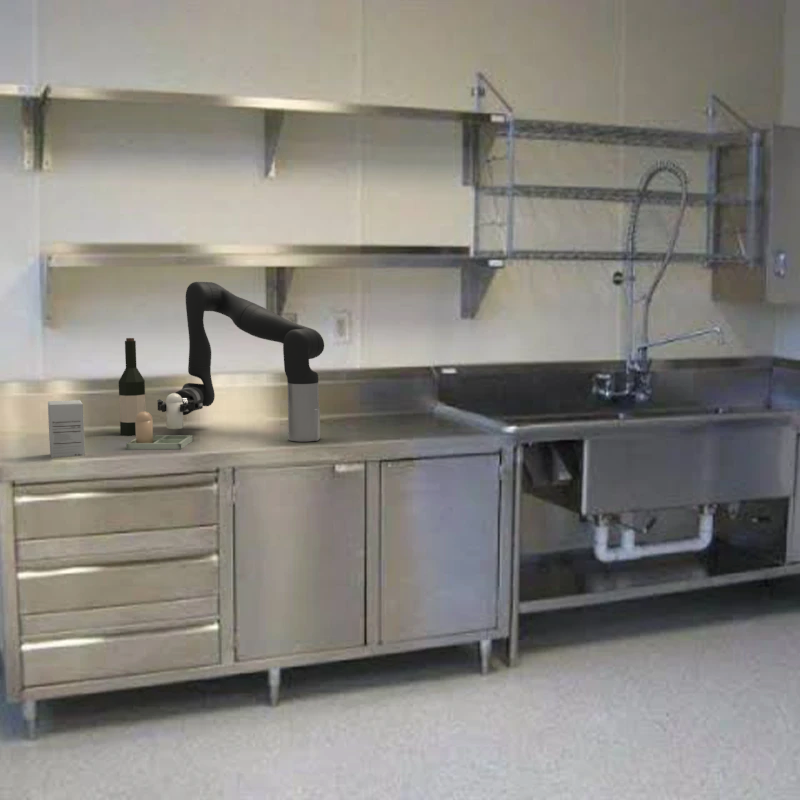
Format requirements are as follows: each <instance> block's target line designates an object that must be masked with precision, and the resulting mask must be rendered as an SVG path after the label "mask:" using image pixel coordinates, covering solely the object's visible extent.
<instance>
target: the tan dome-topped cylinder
mask: <svg viewBox="0 0 800 800" xmlns="http://www.w3.org/2000/svg"><path fill="white" fill-rule="evenodd" d="M135 428H136V436H135V438H136V443H153V435H154V422H153V416H152V414H151V413H149V411H142V412H140V413H138V414H137V415H136V418H135Z"/></svg>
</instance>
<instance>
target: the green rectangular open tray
mask: <svg viewBox="0 0 800 800" xmlns="http://www.w3.org/2000/svg"><path fill="white" fill-rule="evenodd" d="M193 441H194V434H193V435H192V434H188V435H187V434H185V435H182V434H181V435H180V434H179V435H178V434H177V435H176V434H173V435H172V434H171V435H168V434H166V435H165V434H163V435H162V434H160V435H159V434H153V443H136V437H135V438H134V439H132V440H130V441H128V442H127V443H125V445H126V446H125V448H126V449H125V450H182V449H184V448H185V447H186V446H188V445H190V443H192V442H193Z"/></svg>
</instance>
